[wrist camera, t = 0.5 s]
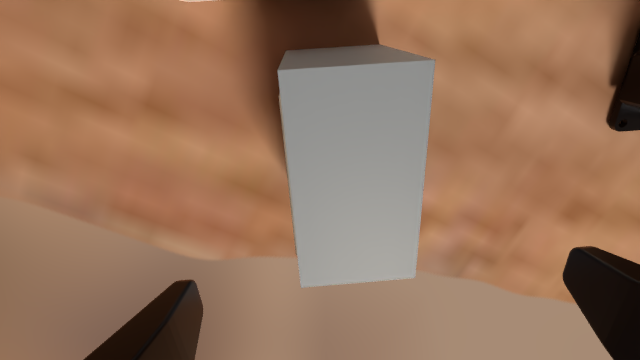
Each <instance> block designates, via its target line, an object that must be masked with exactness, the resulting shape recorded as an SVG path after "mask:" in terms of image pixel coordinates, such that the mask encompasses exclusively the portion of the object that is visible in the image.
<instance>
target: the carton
mask: <svg viewBox="0 0 640 360" xmlns="http://www.w3.org/2000/svg"><path fill="white" fill-rule="evenodd" d="M434 68H435V60H434V59H431V58H427V57H423V56H420V55H416V54H412V53H409V52H405V51H402V50H398V49H394V48H391V47H387V46H383V45H380V44H378V45H362V46H347V47H332V48H316V49H301V50H286V52H285V54H284V56H283V59H282V61H281V63H280V66H279V68H278V79H279V89H280V93H279V104H280V113H281V123H282V132H283V141H284V150H285V159H286V168H287V177H288V186H289V195H290V205H291V214H292V223H293V232H294V241H295V250H296V255H297V256H298V265H299V275H300V284H301V288H303V287H313V286H314V287H315V286H326V285H337V284H348V283H361V282H373V281H384V280H396V279H408V278H415V274H416V264H417V253H418V242H419V231H420V220H421V210H422V199H423V188H424V177H425V166H426V155H427V144H428V133H429V123H430V112H431V101H432V90H433V79H434Z"/></svg>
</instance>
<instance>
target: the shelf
mask: <svg viewBox="0 0 640 360" xmlns="http://www.w3.org/2000/svg"><path fill="white" fill-rule="evenodd" d="M181 1H187V2H198V1H214V0H181Z"/></svg>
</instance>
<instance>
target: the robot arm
mask: <svg viewBox="0 0 640 360" xmlns="http://www.w3.org/2000/svg"><path fill="white" fill-rule="evenodd" d="M620 121H621V123H620ZM619 123H620V124H619ZM609 127H610V128H611V129H613V130H616V131H634V130H640V33H639V36H638V39H637V42H636V45H635V47H634V50H633V53H632V56H631V59H630V62H629V65H628V68H627V71H626V74H625V77H624V80H623V83H622V86H621V89H620V92H619V95H618V98H617V101H616V104H615V107H614V110H613V113H612V116H611V119H610V122H609ZM563 281H564V283H565V285H566V287H567V289H568V290H569V292H570V293H571V295H572V297H573V298H574V300H575V301H576V303H577V305H578V306H579V308H580V309H581V311H582V313H583V314H584V316H585V317H586V319H587V321H588V322H589V324H590V326H591V327H592V329H593V330H594V332H595V334H596V335H597V337H598V338H599V340H600V341H601V343H602V344H603V346H604V347H605V349H606V350H607V351H608V353H609V354H610V356H611V357H612V358H613V360H640V264H637V263H635V262H632V261H629V260H627V259H624V258H622V257H619V256H617V255H614V254H611V253H609V252H606V251H604V250H601V249H599V248H596V247H592V246H586V247H576V248H573V249H572V250H571V251H570V253H569V256H568V259H567V262H566V265H565V268H564V271H563ZM202 317H203V305H202V301H201V298H200V295H199V291H198V288H197V285H196V283H195V281H194V280H180V281H176V282H174V283H173V284H172V285H170V286H169V287H168V288H167V289H166V290H165V291H164V292H162V293H161V294H160V295H159V296H158V297H157V298H155V299H154V300H153V301H152V302H150V303H149V304H148V305H147V306H146V307H145V308H144V309H142V310H141V311H140V312H139V313H138V314H136V315H135V316H134V317H133V318H132V319H131V320H130V321H128V322H127V323H126V324H125V325H124V326H122V327H121V328H120V329H119V330H118V331H116V332H115V333H114V334H113V335H112V336H111V337H110V338H108V339H107V340H106V341H105V342H104V343H102V344H101V345H100V346H99V347H98V348H97V349H95V350H94V351H93V352H92V353H91V354H89V355H88V356H87V357H86V358H85V359H84V360H195V354H196V348H197V343H198V338H199V332H200V327H201V322H202Z"/></svg>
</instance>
